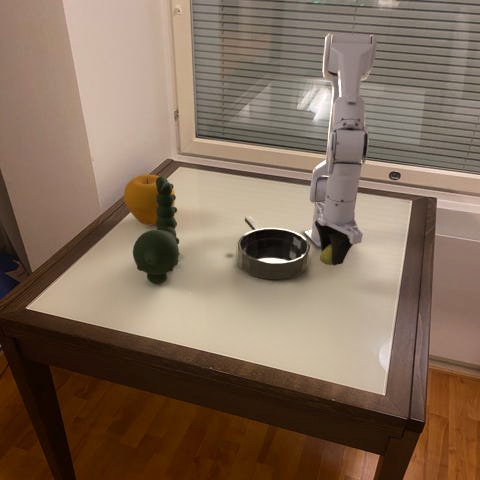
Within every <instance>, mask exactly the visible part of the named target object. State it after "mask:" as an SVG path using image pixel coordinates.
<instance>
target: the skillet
mask: <svg viewBox="0 0 480 480" xmlns="http://www.w3.org/2000/svg"><path fill="white" fill-rule="evenodd" d="M262 228H263V229H257V230H250V231H247V232H246V233H245V234H243V235H241V237H240V238H239V239H238V241H237V256H236V257H237V264H238V265H239V267H240V268H241V270H243V271H244V272H246V273H247V274H248V275H250V276H254V277H258V278H260V279H266V280H285V279H290V278H294V277H296V276H298V275H301V274H302V273H303V272H304V271H305V270H306V269H307V268H308V265H309V262H310V260H309V259H310V251H311V245H310V243H309V240H308V239H307V238H306V237H305V236H304V235H302V234H300V233H298V232H295V231H293V230H290V229H285V228H278V227H262ZM263 230H264V234H263ZM257 231H259V232H260V231H262V232H261V233H262V234H259V232H258V235H257Z"/></svg>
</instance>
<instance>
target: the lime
mask: <svg viewBox="0 0 480 480" xmlns="http://www.w3.org/2000/svg"><path fill="white" fill-rule="evenodd" d="M318 259H319V261H320V262H321V263H323V264H324V265H327V266H334V265H333V264H332V244H330V245H328V246H327V247H326V248H325V249H324V250H323V251H322V250H321V253H320V255H319V258H318Z"/></svg>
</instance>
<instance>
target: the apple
mask: <svg viewBox="0 0 480 480" xmlns="http://www.w3.org/2000/svg"><path fill="white" fill-rule="evenodd" d="M159 176H160V175H156V174H141V175H138V176H135V177H133V178H131V179H130V181H128V182H127V183H126V185H125V188H124V191H123V200H124V204H125V206H126V208H127V209H128V211H129V212H130V213H131V214H132V216H133V217H134V218H135V219H136V220H137V221H138V222H140V223H141V224H143V225H148V226H156V219H157V218H158V216H157V213H156V209H157V207H158V204H157V200H156V196H157V195H158V192H157V187H156V179H157V178H158V177H159ZM168 182H169V183H170V181H169V180H168ZM170 184H171V183H170ZM172 194H174V195H175V196H176V193H175V189H174V188H173V189H172ZM175 203H176V199H175V200H174V202H173V204H172V205H173V206H174V207H175Z"/></svg>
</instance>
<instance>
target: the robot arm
mask: <svg viewBox="0 0 480 480" xmlns="http://www.w3.org/2000/svg"><path fill="white" fill-rule="evenodd" d="M377 45H378V39H377V37H376V35H375V34H338V33H336V34H335V33H330V32H329V33H328V34H327V35H326V36H325V39H324V47H323V58H322V59H323V60H322V74H323V76H322V77H323V79H325V80H327V81H329V82H330V83H331V90H332V93H331V94H332V96H331V104H330V105H331V106H330V115H329V124H328V125H329V126H328V132H327V133H328V134H327V143H326V151H325V152H326V154H325V160H324V161H322V162H320V163H319V164H317V165H316V166H315V167H314V168H313V170H312V174H311V178H310V188H309V201H310V202H311V203H312V204H314V205H313V214H312V223H311V229H309V230H305V231H304V234H305V235H306V237H308V238H309V240H311V241H312V242H313V243H314V244H315V245H316V246H317V247H319V248H320V249H321V252H322V251H323V250H324V249H325V248H326V247H327V246H328V245H330V244H332V264H333V265H332V266H339V265H343V263H344V261H345V259H346V257H347V255H348V254H349V251H350V250H351V248H352V246H353V245H355V244H360V243H362V239H363V234H364V233H363V232H362V231H361V230H360V228H359V226H358V224H357V222H356V219H355V217H356V213H355V212H356V211H355V210H356V203H357V197H358V190H359V185H360V179H361V173H362V166H363V165H365V163H366V160H367V157H368V152H369V147H370V146H369V145H370V137H369V136H370V135H369V134H370V133H369V130H368V125H366V101H365V99H364V98H363V97H362V96H361V95H360V92H361V91H360V90H361V83H362V81H365V80H367V79H368V77H369V75H370V73H371V71H372V69H373V67H374V65H375V60H376V56H377V48H378V47H377Z"/></svg>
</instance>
